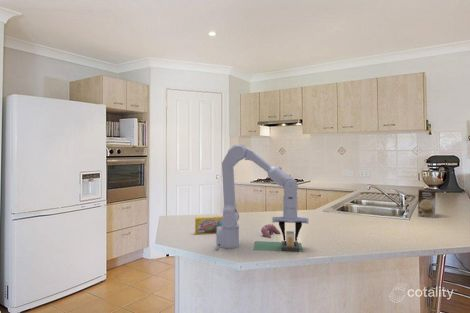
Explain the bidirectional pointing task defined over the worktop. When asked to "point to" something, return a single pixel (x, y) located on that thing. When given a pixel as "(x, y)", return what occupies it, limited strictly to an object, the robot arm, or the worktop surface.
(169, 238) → the worktop surface
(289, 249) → the frame
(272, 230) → the pink toy figure
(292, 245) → the plug
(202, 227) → the candy box
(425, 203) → the coffee box
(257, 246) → the circuit board
